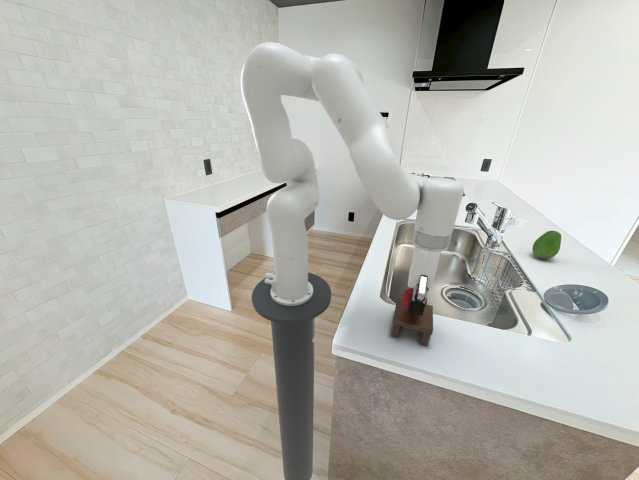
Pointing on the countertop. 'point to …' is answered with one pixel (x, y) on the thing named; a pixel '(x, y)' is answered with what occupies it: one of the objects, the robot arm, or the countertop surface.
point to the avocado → (547, 245)
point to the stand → (413, 321)
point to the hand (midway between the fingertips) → (416, 301)
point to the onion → (409, 297)
